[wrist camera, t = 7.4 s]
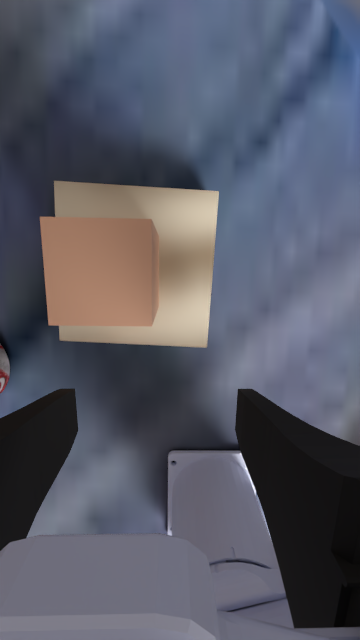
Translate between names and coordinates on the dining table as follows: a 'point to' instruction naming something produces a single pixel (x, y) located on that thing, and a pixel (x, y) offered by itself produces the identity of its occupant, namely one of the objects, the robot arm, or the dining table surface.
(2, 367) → the soda can
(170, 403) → the dining table surface
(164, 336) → the birch base
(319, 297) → the dining table surface
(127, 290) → the terracotta block
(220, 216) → the dining table surface
